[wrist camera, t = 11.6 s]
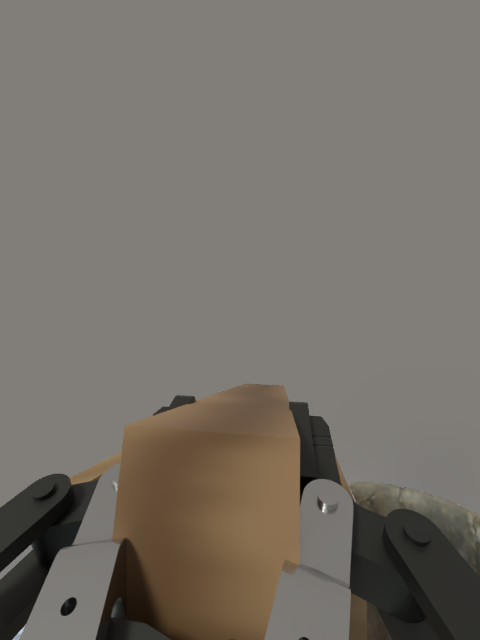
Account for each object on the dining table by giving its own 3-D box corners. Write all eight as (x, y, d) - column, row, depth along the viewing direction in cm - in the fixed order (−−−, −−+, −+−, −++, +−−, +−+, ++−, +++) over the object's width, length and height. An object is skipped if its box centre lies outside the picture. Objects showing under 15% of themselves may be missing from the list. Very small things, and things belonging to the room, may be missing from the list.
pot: (321, 601, 48) (322, 467, 51) (499, 669, 39) (488, 500, 42) (279, 806, 26) (285, 548, 29) (679, 1092, 16) (628, 660, 19)
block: (102, 627, 6) (124, 425, 7) (243, 423, 29) (245, 383, 30) (298, 663, 5) (300, 439, 6) (283, 426, 29) (283, 385, 29)
